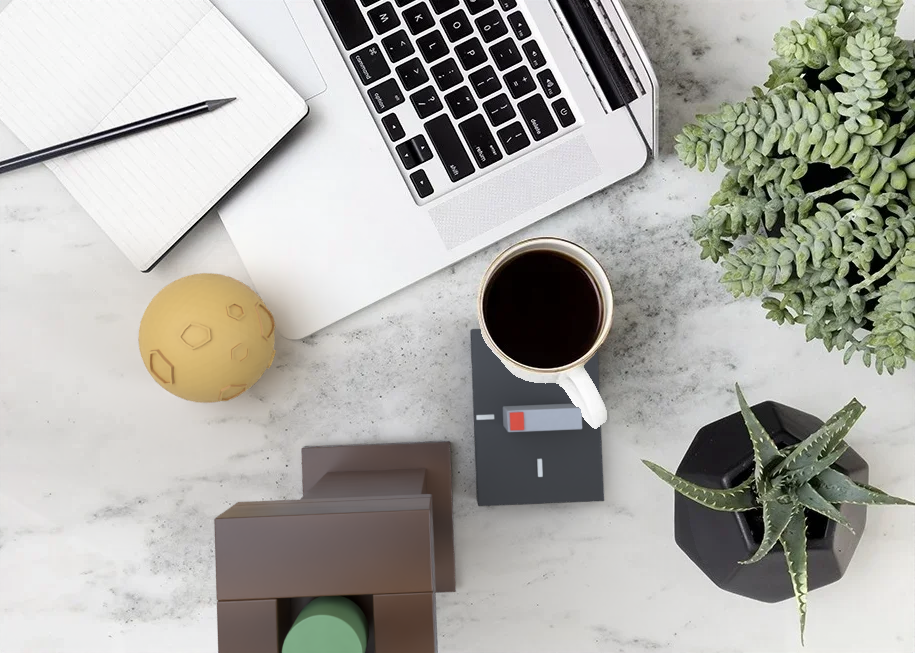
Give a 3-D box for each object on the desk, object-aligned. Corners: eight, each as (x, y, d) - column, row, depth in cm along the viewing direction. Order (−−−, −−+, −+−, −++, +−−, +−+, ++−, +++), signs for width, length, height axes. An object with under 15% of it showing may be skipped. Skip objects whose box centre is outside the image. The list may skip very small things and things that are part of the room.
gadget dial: (571, 403, 62) (582, 407, 57) (572, 423, 62) (583, 429, 57) (502, 406, 62) (507, 410, 57) (503, 426, 62) (508, 432, 57)
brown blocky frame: (440, 730, 40) (440, 772, 36) (244, 739, 40) (221, 782, 36) (432, 493, 40) (430, 509, 36) (237, 501, 40) (213, 518, 36)
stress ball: (144, 361, 64) (88, 363, 54) (204, 257, 64) (160, 240, 54) (249, 421, 64) (213, 434, 54) (309, 317, 64) (284, 310, 54)
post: (455, 587, 64) (460, 729, 40) (308, 594, 64) (224, 740, 40) (450, 440, 64) (451, 492, 40) (303, 446, 64) (217, 502, 40)
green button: (370, 668, 38) (364, 695, 35) (295, 672, 37) (282, 698, 35) (367, 592, 38) (361, 613, 35) (292, 596, 38) (280, 616, 35)
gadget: (598, 495, 64) (604, 501, 62) (476, 500, 64) (478, 506, 61) (590, 325, 65) (596, 324, 62) (470, 330, 65) (471, 329, 62)
